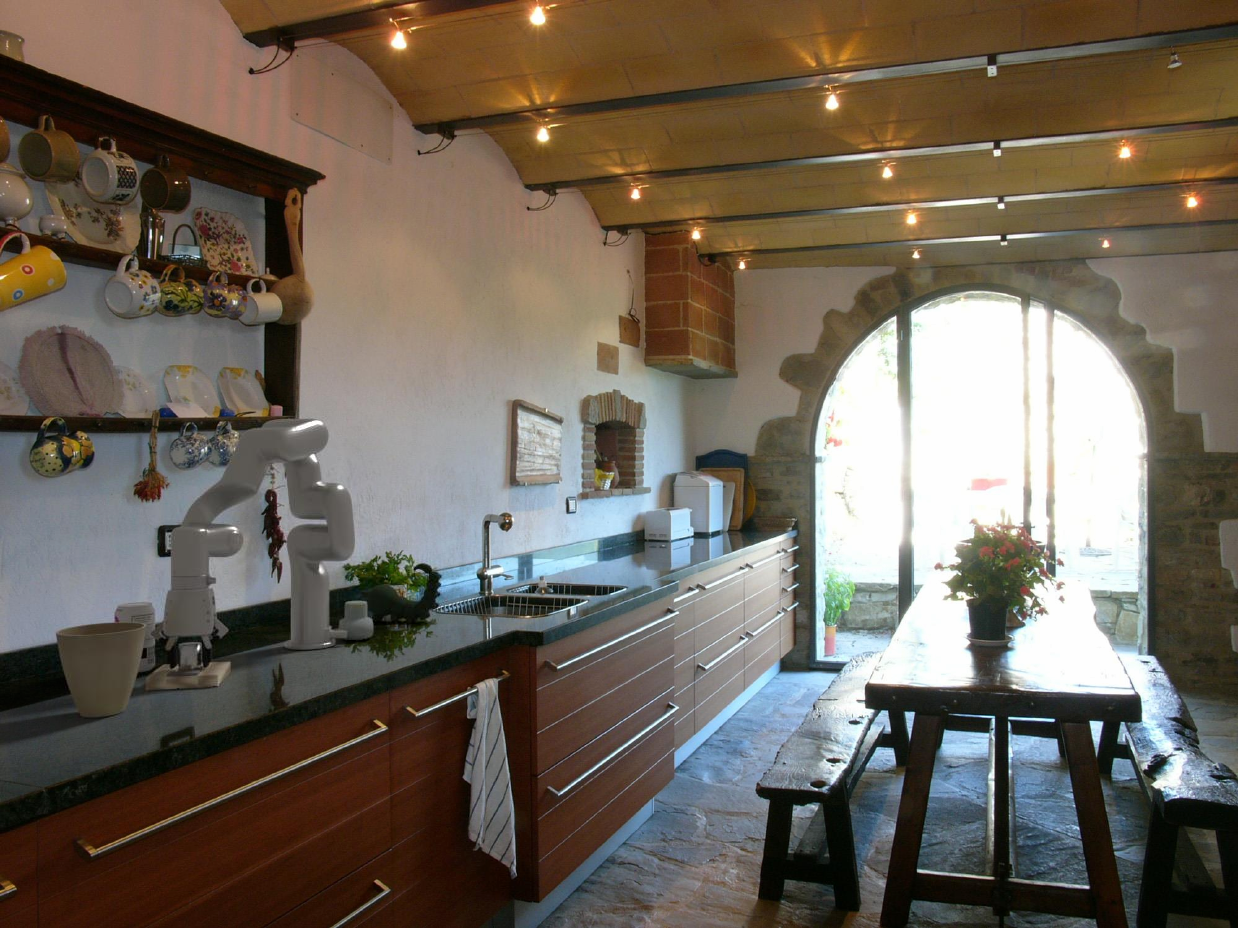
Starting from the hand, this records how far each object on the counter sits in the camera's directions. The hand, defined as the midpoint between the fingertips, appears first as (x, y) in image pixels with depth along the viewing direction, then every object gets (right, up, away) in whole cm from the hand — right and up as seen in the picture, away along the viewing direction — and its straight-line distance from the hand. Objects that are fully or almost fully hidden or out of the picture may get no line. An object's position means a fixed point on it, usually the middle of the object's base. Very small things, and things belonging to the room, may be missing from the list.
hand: (190, 665), depth 203 cm
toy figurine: (+27, -4, +79) cm, 84 cm away
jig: (0, -3, 0) cm, 3 cm away
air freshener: (+22, -4, +51) cm, 55 cm away
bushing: (0, -3, 0) cm, 3 cm away
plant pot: (-5, -3, -27) cm, 27 cm away
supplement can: (-18, -4, +11) cm, 21 cm away
